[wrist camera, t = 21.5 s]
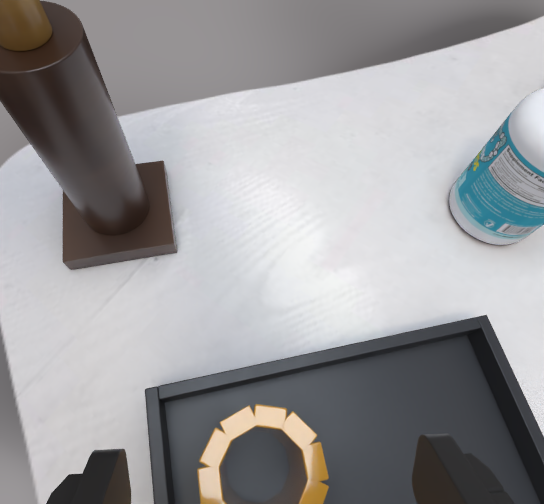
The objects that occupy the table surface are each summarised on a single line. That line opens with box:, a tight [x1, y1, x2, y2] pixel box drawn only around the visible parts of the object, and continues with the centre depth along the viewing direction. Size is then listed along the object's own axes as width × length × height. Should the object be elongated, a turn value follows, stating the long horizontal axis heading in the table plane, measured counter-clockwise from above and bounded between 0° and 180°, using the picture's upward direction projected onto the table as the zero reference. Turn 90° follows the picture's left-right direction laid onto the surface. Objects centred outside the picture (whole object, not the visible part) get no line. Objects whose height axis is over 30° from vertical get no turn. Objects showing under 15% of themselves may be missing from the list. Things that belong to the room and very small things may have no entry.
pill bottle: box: [449, 88, 544, 245], centre depth 29 cm, size 8×7×14 cm
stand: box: [0, 0, 177, 270], centre depth 22 cm, size 8×8×22 cm
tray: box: [145, 315, 544, 504], centre depth 23 cm, size 24×18×3 cm
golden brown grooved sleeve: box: [197, 404, 329, 504], centre depth 21 cm, size 6×6×8 cm
